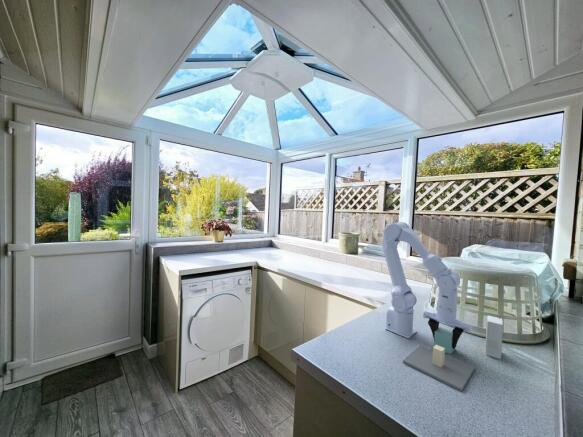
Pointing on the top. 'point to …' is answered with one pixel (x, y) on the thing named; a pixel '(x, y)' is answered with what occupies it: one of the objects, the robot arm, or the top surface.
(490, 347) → the skincare box
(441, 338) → the mint green cube
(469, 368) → the post board
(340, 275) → the top surface
